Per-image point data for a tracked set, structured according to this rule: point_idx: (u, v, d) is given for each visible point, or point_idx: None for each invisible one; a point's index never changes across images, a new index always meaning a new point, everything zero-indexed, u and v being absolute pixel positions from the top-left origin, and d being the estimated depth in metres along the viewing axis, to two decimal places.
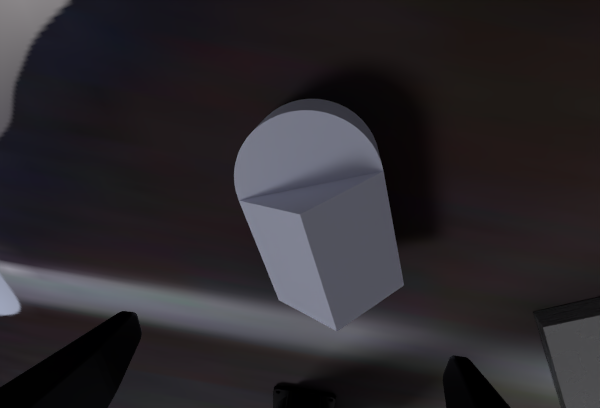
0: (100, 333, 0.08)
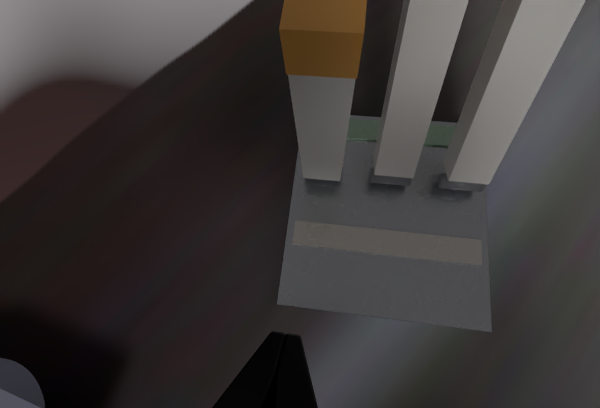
0: (267, 357, 0.08)
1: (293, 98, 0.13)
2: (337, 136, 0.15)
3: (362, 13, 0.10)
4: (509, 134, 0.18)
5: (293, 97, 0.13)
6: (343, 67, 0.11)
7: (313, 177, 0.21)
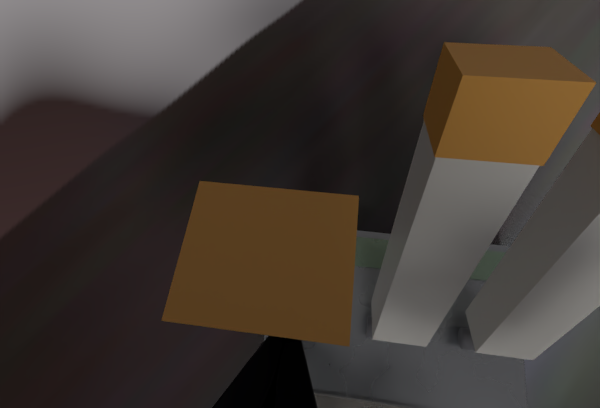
0: (267, 357, 0.08)
1: None
2: None
3: (345, 287, 0.04)
4: (571, 321, 0.12)
5: None
6: None
7: None
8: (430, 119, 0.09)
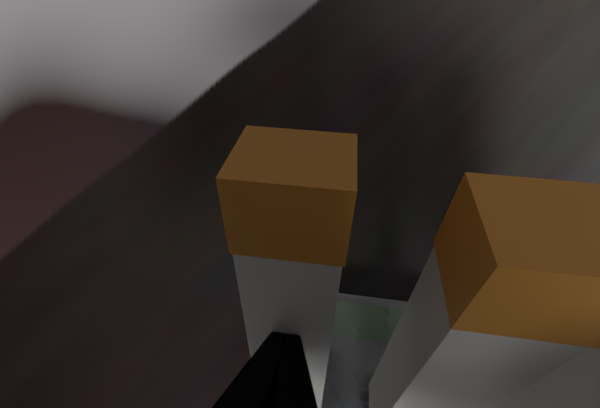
0: (267, 357, 0.08)
1: (242, 293, 0.08)
2: (312, 357, 0.10)
3: (352, 167, 0.06)
4: None
5: (242, 291, 0.08)
6: (321, 247, 0.07)
7: None
8: (444, 262, 0.07)
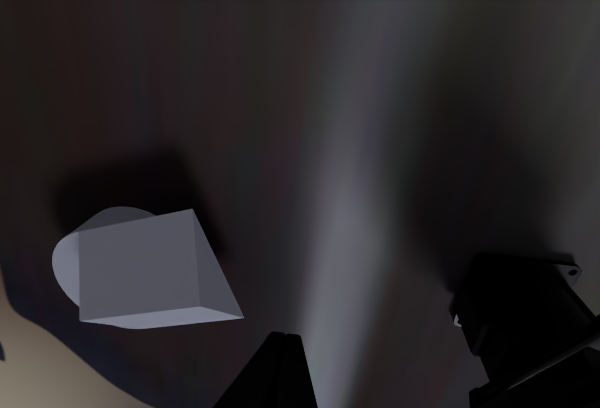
0: (267, 357, 0.08)
1: None
2: None
3: None
4: None
5: None
6: None
7: None
8: None
